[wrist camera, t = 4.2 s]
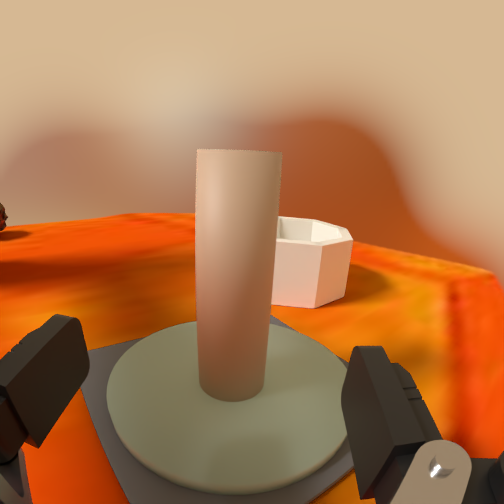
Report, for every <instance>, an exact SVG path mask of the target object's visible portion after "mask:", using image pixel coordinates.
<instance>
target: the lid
mask: <svg viewBox="0 0 504 504" xmlns="http://www.w3.org/2000/svg"><path fill="white" fill-rule="evenodd" d="M281 163H282V153H281V152H267V151H248V150H221V149H219V150H218V149H198V150H197V171H196V220H195V269H196V319H197V321H194V322H188V323H183V324H179V325H175V326H172V327H169V328H165V329H163V330H160V331H158V332H155V333H153V334H151V335H149V336H147V337H145V338H144V339H142V340H140V341H139V342H137V343H136V344H134V345H133V346H132V347H131V348H130V349H128V350H127V351H126V352H125V353H124V354H123V355H122V356H121V357H120V359H119V360H118V362H117V363H116V364H115V366H114V368H113V370H112V372H111V374H110V377H109V381H108V384H107V395H106V397H107V405H108V410H109V413H110V416H111V419H112V422H113V425H114V427H115V430H116V433H117V435H118V436H119V438H120V440H121V441H122V443H123V445H124V446H125V447H126V449H127V450H128V451H129V452H130V453H131V454H132V456H133V457H134V458H135V459H137V460H138V461H139V462H140V463H141V464H142V465H144V466H145V467H146V468H147V469H149V470H150V471H152V472H154V473H155V474H157V475H158V476H160V477H162V478H164V479H166V480H168V481H170V482H173V483H175V484H177V485H179V486H182V487H186V488H189V489H193V490H196V491H200V492H206V493H213V494H220V495H248V494H256V493H264V492H268V491H272V490H276V489H279V488H283V487H286V486H288V485H291V484H293V483H296V482H298V481H300V480H303V479H304V478H306V477H308V476H309V475H311V474H313V473H314V472H316V471H317V470H319V469H320V468H321V467H322V466H323V465H325V464H326V463H327V462H328V461H329V460H330V459H331V458H332V457H333V456H334V455H335V454H336V452H337V451H338V450H339V449H340V447H341V446H342V444H343V442H344V441H345V439H346V437H347V430H346V426H345V421H344V417H343V412H342V408H341V392H342V387H343V383H344V380H345V376H346V373H347V369H346V367H345V366H344V364H343V363H342V362H341V361H340V360H339V359H338V357H337V356H336V355H335V354H333V353H332V352H331V351H330V350H329V349H327V348H326V347H325V346H323V345H322V344H320V343H319V342H317V341H315V340H313V339H312V338H310V337H308V336H306V335H303V334H301V333H299V332H296V331H294V330H291V329H288V328H285V327H281V326H278V325H274V324H270V312H271V301H272V289H273V277H274V264H275V251H276V238H277V225H278V210H279V196H280V180H281Z"/></svg>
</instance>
